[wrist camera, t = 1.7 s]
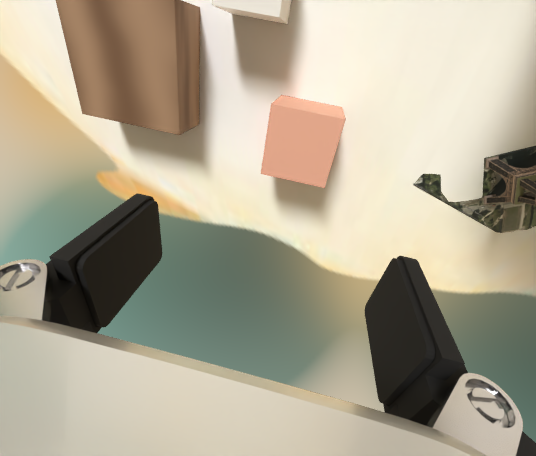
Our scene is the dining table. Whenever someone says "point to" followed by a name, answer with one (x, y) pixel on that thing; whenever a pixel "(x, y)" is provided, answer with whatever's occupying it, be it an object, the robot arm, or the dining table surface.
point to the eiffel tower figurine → (498, 192)
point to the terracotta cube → (302, 140)
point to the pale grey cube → (257, 8)
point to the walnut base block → (135, 60)
